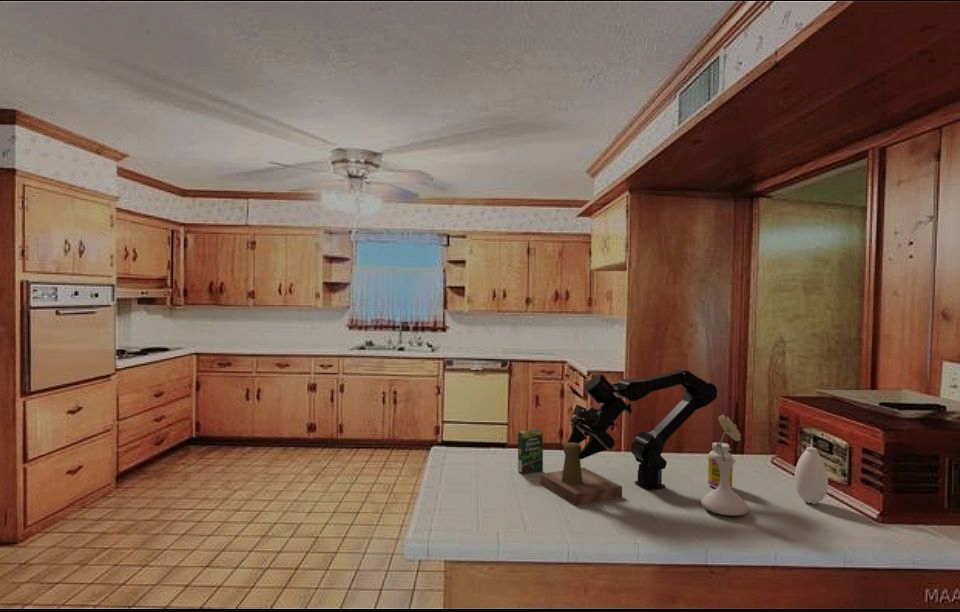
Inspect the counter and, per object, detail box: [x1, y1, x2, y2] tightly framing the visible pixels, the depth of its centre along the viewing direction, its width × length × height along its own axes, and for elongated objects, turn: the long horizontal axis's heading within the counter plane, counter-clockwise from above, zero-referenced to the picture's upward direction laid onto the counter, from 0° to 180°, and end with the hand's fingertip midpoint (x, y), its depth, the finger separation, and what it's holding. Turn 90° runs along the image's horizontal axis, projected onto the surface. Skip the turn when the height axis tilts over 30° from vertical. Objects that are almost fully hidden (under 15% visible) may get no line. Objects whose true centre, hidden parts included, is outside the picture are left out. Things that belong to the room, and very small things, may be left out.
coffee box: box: [517, 429, 544, 474], centre depth 167 cm, size 8×3×13 cm, turn 113°
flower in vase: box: [700, 414, 749, 517], centre depth 137 cm, size 13×11×25 cm
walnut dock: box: [539, 467, 623, 506], centre depth 151 cm, size 16×18×3 cm
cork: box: [562, 442, 583, 485], centre depth 149 cm, size 6×6×11 cm
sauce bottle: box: [794, 438, 829, 505], centre depth 143 cm, size 8×8×18 cm
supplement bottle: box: [707, 441, 734, 489], centre depth 155 cm, size 7×7×13 cm
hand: (572, 453), depth 149 cm, fingers open, 9 cm apart
